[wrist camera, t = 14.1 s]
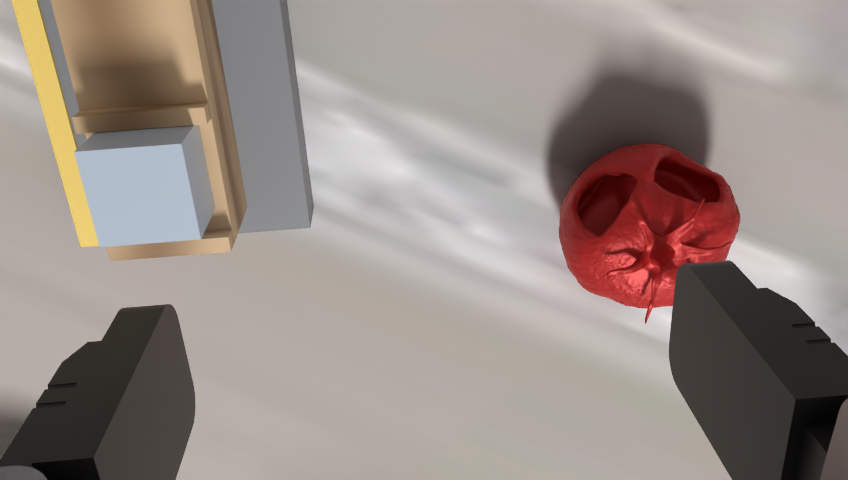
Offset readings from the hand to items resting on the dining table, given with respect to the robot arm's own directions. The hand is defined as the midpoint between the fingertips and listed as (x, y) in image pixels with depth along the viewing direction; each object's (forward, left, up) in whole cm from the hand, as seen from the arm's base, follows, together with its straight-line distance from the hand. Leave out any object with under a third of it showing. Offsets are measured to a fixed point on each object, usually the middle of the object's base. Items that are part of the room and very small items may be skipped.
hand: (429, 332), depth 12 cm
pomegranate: (-14, +13, -33) cm, 38 cm away
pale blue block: (+12, +6, -26) cm, 29 cm away
